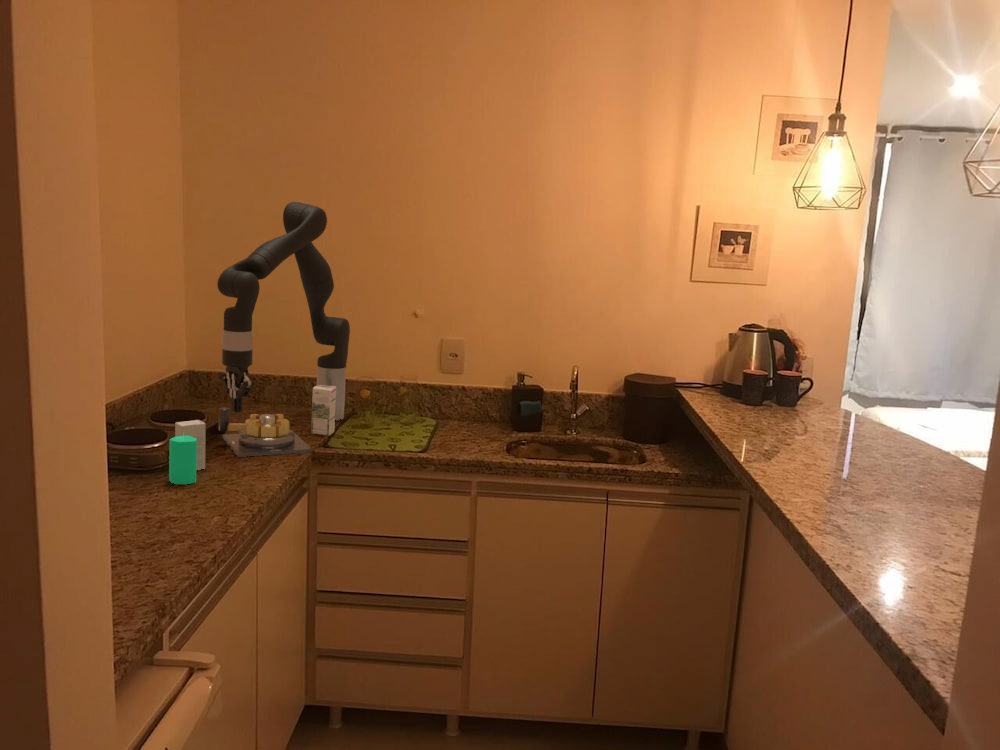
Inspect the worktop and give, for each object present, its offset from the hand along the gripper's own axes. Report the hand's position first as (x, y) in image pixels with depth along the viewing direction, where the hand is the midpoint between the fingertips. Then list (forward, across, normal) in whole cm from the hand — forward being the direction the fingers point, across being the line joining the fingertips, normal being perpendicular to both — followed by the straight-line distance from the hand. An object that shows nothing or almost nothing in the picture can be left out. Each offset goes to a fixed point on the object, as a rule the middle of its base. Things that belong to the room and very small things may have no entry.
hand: (236, 411), depth 206 cm
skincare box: (+12, -6, +16) cm, 21 cm away
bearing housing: (+12, +2, -11) cm, 16 cm away
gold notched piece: (+8, +4, -8) cm, 12 cm away
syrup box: (+12, +5, -32) cm, 35 cm away
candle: (+12, -14, +22) cm, 28 cm away
